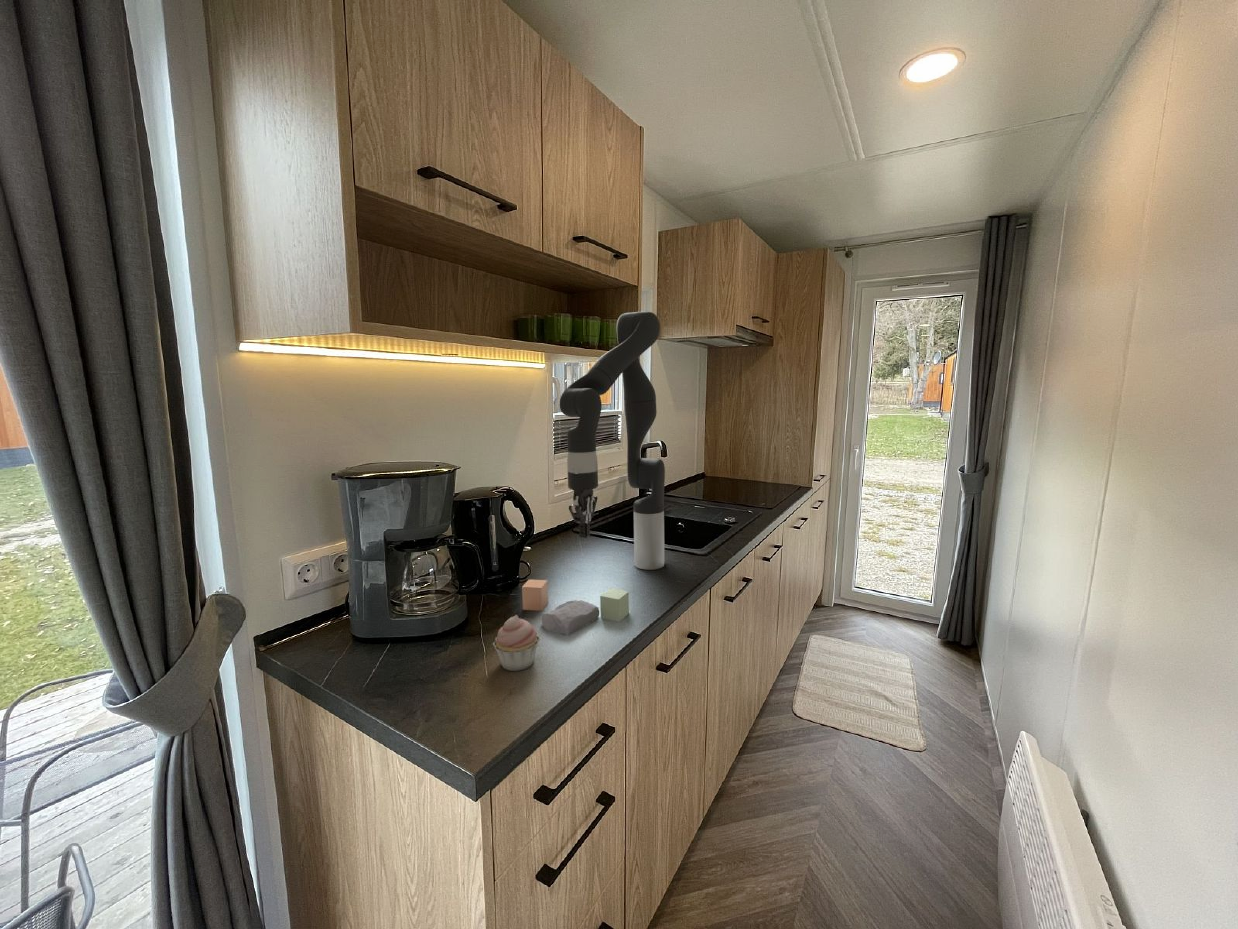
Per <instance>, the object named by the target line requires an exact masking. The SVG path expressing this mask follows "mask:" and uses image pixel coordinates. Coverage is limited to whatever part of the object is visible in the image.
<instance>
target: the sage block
mask: <svg viewBox="0 0 1238 929" xmlns="http://www.w3.org/2000/svg"><path fill="white" fill-rule="evenodd" d="M599 600H600V602H599V604H600V618H602V619H606V620H609V621H610V620H611V621H616V622H621V620H624V618H625V617H626V616H628V615H629V613H630V608H629V607H630V605H629V604H630V602H629V600H630V599H629V591H627V590H621V589H616V588H608V590H606V591H605V592H603V593H601V594H600V595H599Z"/></svg>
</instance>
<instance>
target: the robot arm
mask: <svg viewBox="0 0 1238 929" xmlns="http://www.w3.org/2000/svg"><path fill="white" fill-rule="evenodd" d="M660 330H661V324H660V320H659V318H658V316H657V315H656V313H654V312H651V311H635V312H633V311H632V312H625V313H622V314H620V316H619V317H618V319H617V322H616V339H617V340H616V341H617V346H615V347H613V348H612V349H610V350H609V351H607V352H605V353H604V354H602V355H601V356H600V357H598V358H597V360H595V362H594V363H593V364H592V366H591V367H590V368H589V369H588V371H587V372H586V373H585V374H583V375H582V376H581V377H579V378H577V380H575V381H574V382H573V383H571V384H570V385H568V386H567V388H565V390H564V391H563V392H562V393H561V395H560V398H559V408H560V411H561V413H562V414H564V416H566V417H570V418H579V419H578V423H577V426H575V427H571V428H570V429H568V431H567V438H566V439H567V440H566V442H567V460H566V461H567V463H566V466H567V468H566V469H567V488H568V489H569V490H572V491H573V495H572V501H573V503H572V504H569V506H568V511H569V513H570V514H571V517H572V519H573V521H574V523H577V524H578V526H579V527H578V528H579V529H578V530H579V534H578V535H579V537H580V538H584V539H585V538H589V537H590V535H591V528H590V525H591V524H590V522H591V521H592V518H594V515H595V511H596V508H597V502H598V496H597V495H594V490H595V489H598V487H599V476H598V475H599V473H598V472H599V471H598V468H599V467H598V464H599V463H598V455H597V440H596V439H597V437H596V435H597V430H598V426H599V420H600V417H601V414H602V413H601V412H602V404H603V403H602V399H601V396H603V395H605V394H606V393H607V392H608V391H609V390H610V388H612V387H613V385H614V384H615V382H616V381H617V380H618V378H619V377H620V376H621V375H622V383H623V384H622V385H623V405H624V416H625V425H626V438H627V439H626V441H627V442H626V443H627V444H626V446H627V453H626V454H627V455H626V457H627V461H626V462H627V464H626V468H627V470H626V472H627V481H628V484H629V486H630V487H631V489H632V488H633V489H644V490H651V494H649V495H648V496H644V497H642V498H639V499H637V500H635V501H634V502H633V507H632V508H633V550H634V551H633V552H634V553H633V554H634V556H633V557H634V559H633V560H634V567H636V568H638V569H642V570H651V571H652V570H658V569H662V568H663V567H664V566H665V511H664V510H665V509H664V508H665V506H664V505H665V481H666V480H665V477H666V468H665V462H664V461H663V460H662V458H650V457H647V458H645V457H641V449H642V448H641V447H642V445H643V442H644V439H645V438H646V436H647V434H648V432H649V431H650V429H651V427H652V426H653V424H654V421H656V417H657V395H656V391H655V388H654V386H653V384H652V381H651V380H650V378H649V377H648V376H647V374H646V372H645V371H644V369H643V367H642V364H641V361H640V356H641V355H643V354H644V353H645V352H646V351H647V350H648V349H650V348H651V347H652V346H653V345H654V344H655V343H656V341H657V340H658V339H659V336H660V332H661V331H660Z"/></svg>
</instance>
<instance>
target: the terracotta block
mask: <svg viewBox="0 0 1238 929" xmlns="http://www.w3.org/2000/svg"><path fill="white" fill-rule="evenodd" d="M521 594H522V596H521V597H522V610H523V611H538V612H540V611H541V612H543V610H544V609H545V608H546V607H547V605H548V604H549V581H548V580H547V579H545V580H544V579H530V578H529V579H528V580H527V581H526V582H525V583H524V584H523V585H522V587H521Z"/></svg>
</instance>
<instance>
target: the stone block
mask: <svg viewBox="0 0 1238 929" xmlns="http://www.w3.org/2000/svg"><path fill="white" fill-rule="evenodd" d="M599 608H600V607H598V606H596V605H594V604H593V603H590V602H588V601H585V600H577V599H576V600H570V601H566V602H564V603H562V604H560V605H557V607H555V608H554V609H553V610H550V611H547V612H544V613H542V614H541V624H542V627H543V628H545V629H546V630H547V631H551V632H555V633H558V634H560V635H564V636H570V635H572V634H574V633H575V632H577V631H579V630H581V629H582V628H585V627H586V626H588V625H589V624H591V623H593V622H595V621H597V620H598V618H599V616H600V609H599Z"/></svg>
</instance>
